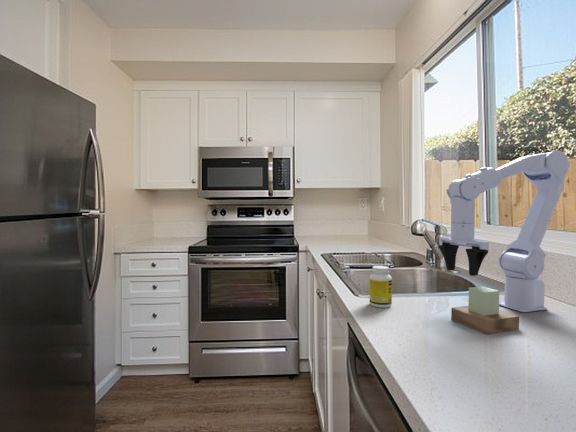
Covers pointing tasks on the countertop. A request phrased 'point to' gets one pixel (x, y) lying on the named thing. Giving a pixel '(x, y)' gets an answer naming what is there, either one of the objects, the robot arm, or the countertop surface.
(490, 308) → the sage cube
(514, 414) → the countertop surface
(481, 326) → the walnut base
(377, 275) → the pill bottle
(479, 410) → the countertop surface
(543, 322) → the countertop surface
